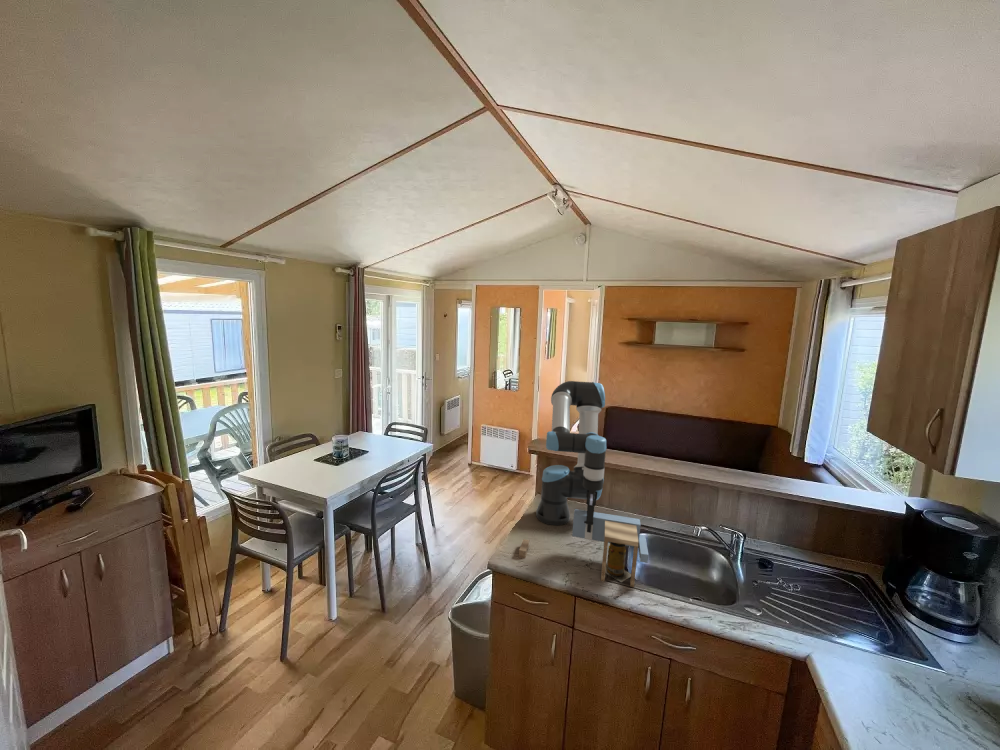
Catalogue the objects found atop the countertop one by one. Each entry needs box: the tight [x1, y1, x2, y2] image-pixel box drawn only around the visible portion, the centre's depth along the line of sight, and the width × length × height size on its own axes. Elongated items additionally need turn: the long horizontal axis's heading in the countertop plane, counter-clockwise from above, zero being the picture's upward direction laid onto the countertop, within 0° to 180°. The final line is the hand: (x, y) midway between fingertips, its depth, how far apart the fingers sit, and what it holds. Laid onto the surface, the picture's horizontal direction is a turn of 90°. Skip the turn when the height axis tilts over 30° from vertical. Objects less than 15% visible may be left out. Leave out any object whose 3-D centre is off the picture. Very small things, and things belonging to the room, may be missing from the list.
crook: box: [571, 508, 649, 564], centre depth 151 cm, size 14×26×9 cm, turn 75°
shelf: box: [600, 521, 639, 588], centre depth 146 cm, size 12×11×17 cm
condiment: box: [600, 542, 631, 583], centre depth 147 cm, size 7×8×12 cm
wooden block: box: [518, 538, 530, 559], centre depth 159 cm, size 8×2×3 cm, turn 166°
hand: (588, 535), depth 158 cm, fingers closed on crook, 4 cm apart
